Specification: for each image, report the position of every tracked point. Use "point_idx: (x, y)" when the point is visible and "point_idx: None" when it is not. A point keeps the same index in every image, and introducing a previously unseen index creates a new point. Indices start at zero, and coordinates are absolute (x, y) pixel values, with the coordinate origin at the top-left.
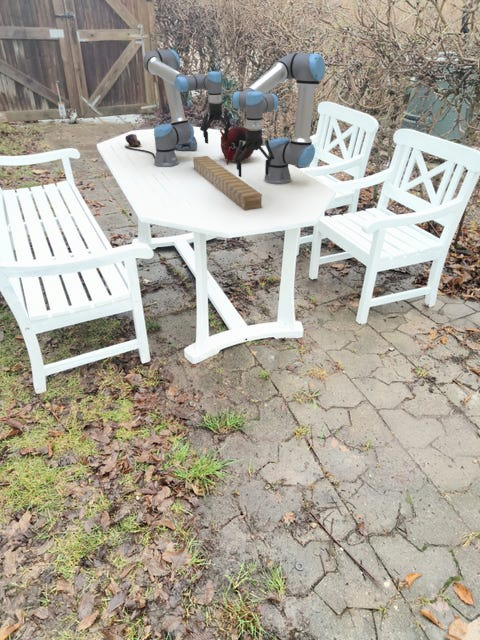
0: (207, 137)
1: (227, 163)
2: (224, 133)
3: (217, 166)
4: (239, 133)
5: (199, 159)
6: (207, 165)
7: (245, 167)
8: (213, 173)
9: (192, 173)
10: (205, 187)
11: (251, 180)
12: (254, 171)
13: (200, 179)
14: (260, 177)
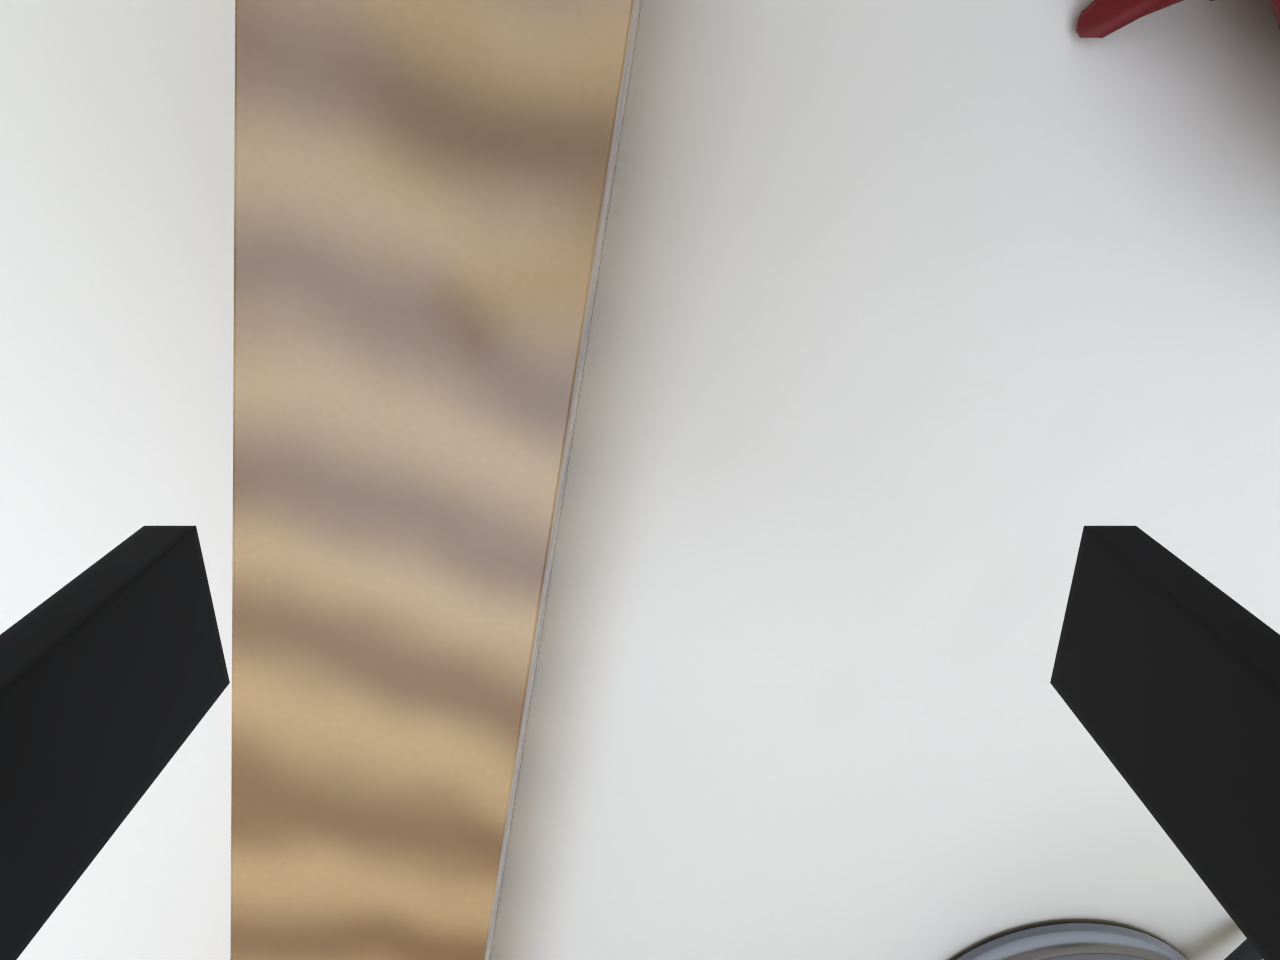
0: (66, 851)
1: (1090, 34)
2: (1244, 686)
3: (439, 735)
4: None
5: (320, 65)
6: (299, 592)
7: (1186, 402)
8: (233, 945)
9: (202, 160)
10: (167, 828)
11: (803, 904)
12: None
13: (219, 532)
14: (975, 877)
